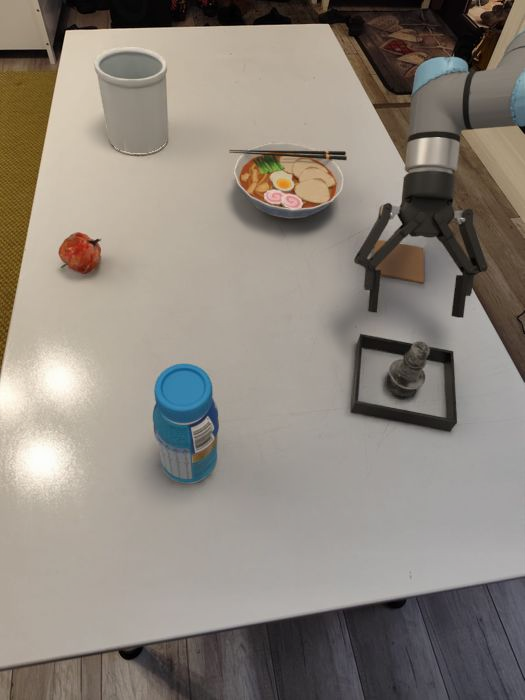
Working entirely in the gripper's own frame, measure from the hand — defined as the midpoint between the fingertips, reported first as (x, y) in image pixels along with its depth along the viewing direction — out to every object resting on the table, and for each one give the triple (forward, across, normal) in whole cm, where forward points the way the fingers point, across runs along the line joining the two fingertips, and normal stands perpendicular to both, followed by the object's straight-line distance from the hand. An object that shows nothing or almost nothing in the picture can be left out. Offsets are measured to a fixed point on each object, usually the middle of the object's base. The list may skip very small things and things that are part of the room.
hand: (415, 314), depth 81 cm
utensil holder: (-34, +52, -50) cm, 80 cm away
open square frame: (+12, 0, -4) cm, 13 cm away
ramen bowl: (-20, +18, -36) cm, 45 cm away
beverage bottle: (+23, +34, +6) cm, 41 cm away
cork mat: (-9, -4, -25) cm, 27 cm away
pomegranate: (-4, +57, -20) cm, 60 cm away
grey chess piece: (+12, 0, -4) cm, 13 cm away
